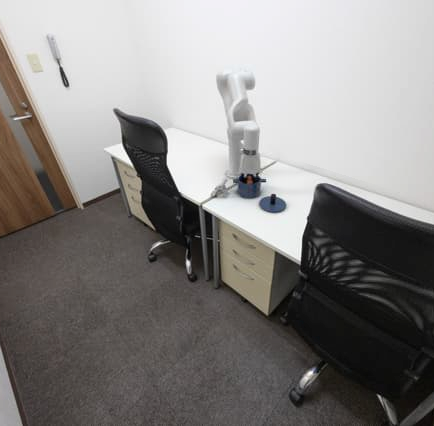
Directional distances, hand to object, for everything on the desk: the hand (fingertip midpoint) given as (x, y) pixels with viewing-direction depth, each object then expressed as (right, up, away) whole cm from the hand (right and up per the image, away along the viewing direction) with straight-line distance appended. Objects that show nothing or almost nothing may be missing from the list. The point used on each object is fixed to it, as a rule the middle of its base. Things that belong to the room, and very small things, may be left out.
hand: (249, 183), depth 129 cm
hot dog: (0, 0, 0) cm, 0 cm away
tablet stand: (-16, -6, +3) cm, 17 cm away
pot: (0, -5, +4) cm, 6 cm away
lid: (+11, -12, -7) cm, 18 cm away
